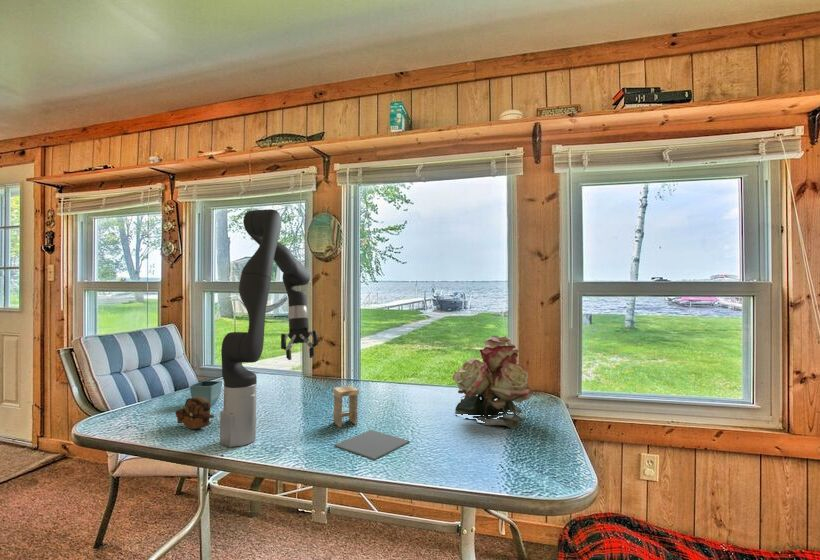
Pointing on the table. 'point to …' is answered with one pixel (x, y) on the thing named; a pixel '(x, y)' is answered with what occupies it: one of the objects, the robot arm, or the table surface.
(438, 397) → the table surface
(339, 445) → the charcoal mat
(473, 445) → the table surface
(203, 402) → the wooden carving
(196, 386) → the flower pot
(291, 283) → the robot arm
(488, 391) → the rose bouquet
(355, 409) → the pine stool
